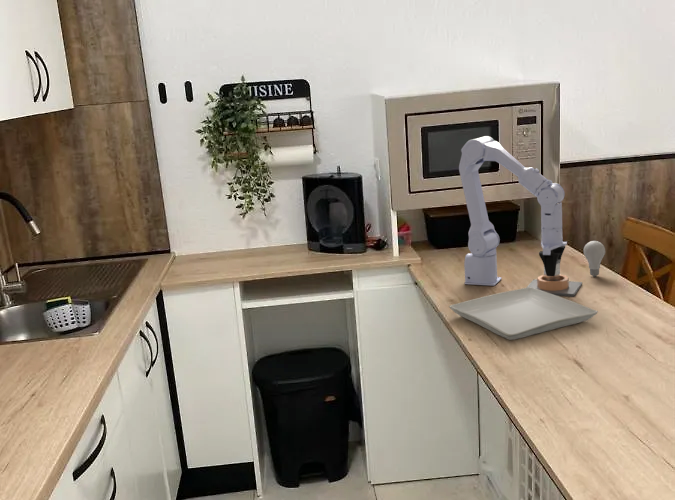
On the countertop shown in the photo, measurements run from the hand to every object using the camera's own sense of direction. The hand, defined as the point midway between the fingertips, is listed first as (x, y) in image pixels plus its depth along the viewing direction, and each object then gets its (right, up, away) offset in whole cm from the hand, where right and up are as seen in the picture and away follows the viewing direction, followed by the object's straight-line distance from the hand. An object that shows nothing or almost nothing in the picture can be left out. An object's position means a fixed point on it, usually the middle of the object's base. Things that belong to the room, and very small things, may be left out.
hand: (552, 273), depth 208 cm
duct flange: (0, -5, +1) cm, 5 cm away
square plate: (-15, -12, -22) cm, 29 cm away
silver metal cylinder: (0, -3, +1) cm, 3 cm away
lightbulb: (+15, -1, +9) cm, 18 cm away
